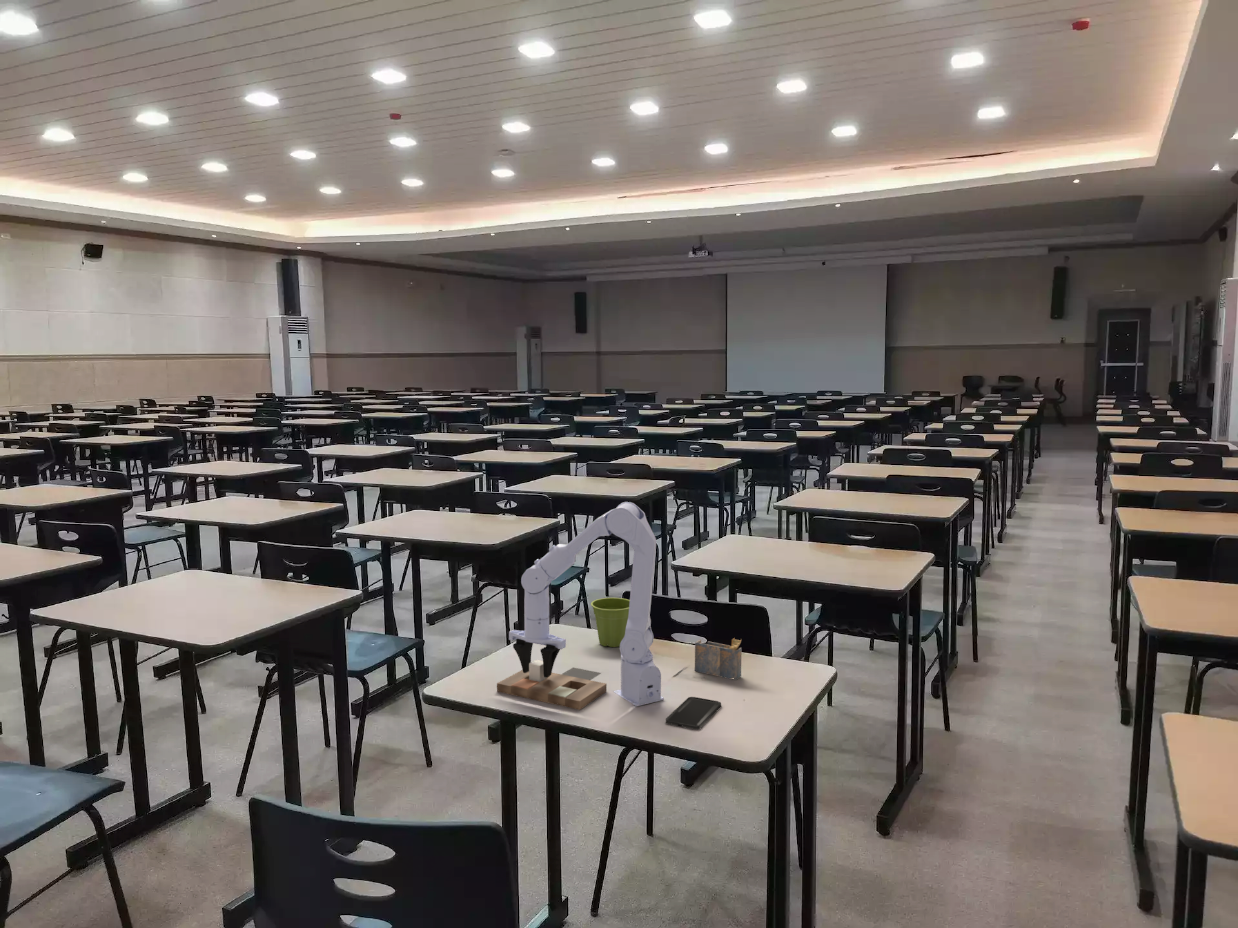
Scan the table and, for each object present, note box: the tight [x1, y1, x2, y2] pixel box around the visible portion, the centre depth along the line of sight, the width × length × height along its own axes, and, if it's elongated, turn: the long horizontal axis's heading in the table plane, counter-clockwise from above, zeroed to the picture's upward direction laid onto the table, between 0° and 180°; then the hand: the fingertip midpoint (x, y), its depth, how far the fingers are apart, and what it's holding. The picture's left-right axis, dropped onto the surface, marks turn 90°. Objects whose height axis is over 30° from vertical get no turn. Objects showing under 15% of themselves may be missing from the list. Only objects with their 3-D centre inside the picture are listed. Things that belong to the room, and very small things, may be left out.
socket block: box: [496, 669, 607, 711], centre depth 192 cm, size 22×12×3 cm, turn 62°
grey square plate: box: [561, 667, 602, 681], centre depth 203 cm, size 8×8×1 cm
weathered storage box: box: [694, 638, 742, 680], centre depth 206 cm, size 11×3×10 cm, turn 57°
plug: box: [529, 659, 547, 682], centre depth 196 cm, size 3×3×6 cm
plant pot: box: [590, 597, 630, 648], centre depth 228 cm, size 12×12×11 cm
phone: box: [665, 696, 722, 731], centre depth 182 cm, size 8×1×15 cm
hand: (537, 673), depth 196 cm, fingers open, 5 cm apart
